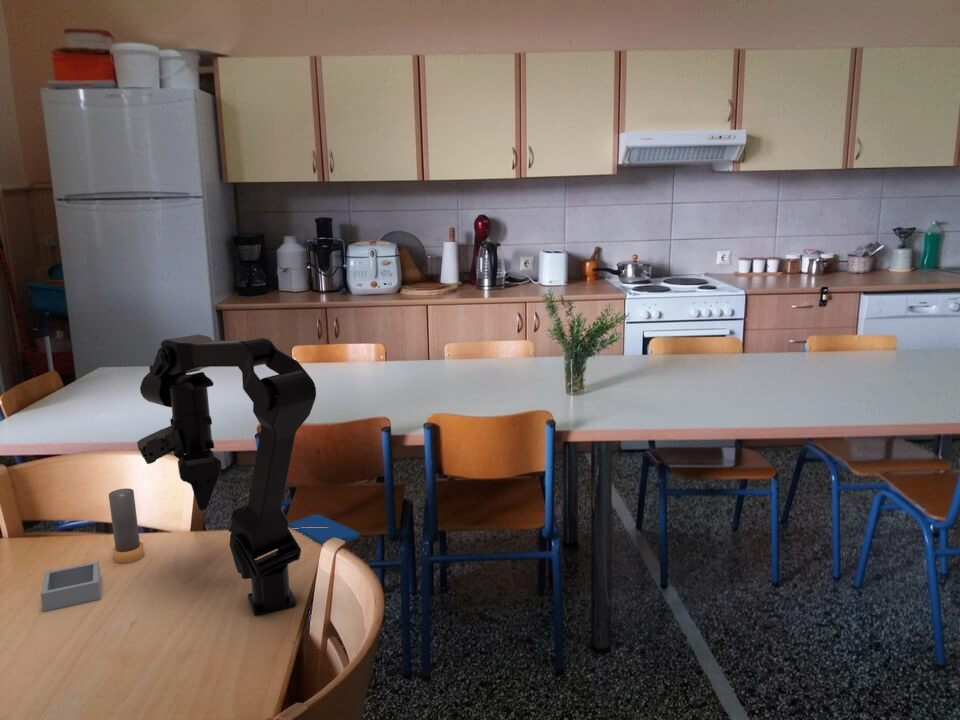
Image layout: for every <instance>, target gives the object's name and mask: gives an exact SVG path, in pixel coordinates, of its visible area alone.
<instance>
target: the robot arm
mask: <svg viewBox="0 0 960 720" xmlns="http://www.w3.org/2000/svg"><path fill="white" fill-rule="evenodd" d="M160 346H161V347H159V348H158V350H157V353H156V356H155V359H154V362H153V364H152V365H149V367H148V368H149V371H148V373H147V374H145V376H144V377H143V378H142V381H141V384H140V387H139V390H140V395H141V396H142V398H143V399H144V400H146V401H147V402H149V403H153V404H156V405H160V406H164V407H167V408H171V414H172V415H171V418H170V419H169V423H170V425H169V426H167V427H164V428H161V429H159V430H157V431H154V432H153V433H150V434H149V435H146V436H145V437H143V438H140V439H139V440H137V449H138V451H139V452H140V455H141V456H142V458H143V459H144V461H145V462H146V464H147V465H150V464H153V463H155V462H156V461H157V460H159V459H161V458H163V457H165V456H167V455H169V454H171V453H173V455H174V457H176V458H177V459H178V460H177V467H178V474H179V478H180V480H182V482H185V483H188V484H189V485H190V486H191V489H192V493H193V495H194V498H195V501H196V505H197V508H198V510H199V511H205V510H207V508H208V506H209V503H210V501H211V498H212V495H213V493H214V490H215V486H216V485H217V482H218V479H219V477H220V476H221V473H223V469H222V460H221V458H220V456H219V454H217V453H216V452H214V451H213V450H212V449H215V442H214V441H213V440H214V439H213V436H212V427H211V426H212V425H213V421H212V417H211V415H210V407H209V406H210V405H209V394H208V393H209V392H208V388H209V387H213V386H214V381H212V378H210V377H208V376H207V375H206V374H205V373H204V372H203V371H201V370H203V369H206V368H211V367H213V368H214V367H215V368H217V367H218V368H219V367H221V368H222V367H224V368H225V367H226V368H227V367H232V368H233V367H234V368H235V367H237V368H238V369H239V370H240V372H241V376H242V377H241V379H242V389H243V391H244V393H246V395H247V397H248V398H249V399H250V401H251V402H252V404H253V405H252V411H253V412H252V413H253V414H254V416H255V417H256V419H257V421H258V423H259V425H260V433H259V438H258V439H259V440H258V446H257V450H256V456H255V457H256V458H255V462H254V463H255V464H254V468H253V473H252V474H253V475H252V479H251V487H250V491H249V498H248V503H247V504H246V505H243V506H241V507H237V508H235V509H234V510H233V511H232V513H231V523H230V527H229V529H228V532H230V535H229V549H230V551H231V554H232V558H233V561H234V565H235V568H236V570H237V573H238V574H240V575H241V579H243V580H248V579H249V580H250V581H251V582H250V583H251V593H248V594H247V599H248V601H249V606H250V607H251V610H252V613H253V615H254V616H261V615H265V614H267V613H271V612H276V611H279V610H283V609H287V608H291V607H292V608H293V607H295V606H296V605H297V601H296V598H295V595H293V592H292V590H291V588H290V576H289V575H290V574H289V564H292V563H293V562H295V561H296V562H297V561H299V560H300V559H301V553H302V549H301V546H300V545H299V544H298V541H297V540H296V538H295V537H294V536H293V534H292V532H291V530H290V528H289V527H288V524H289V520H288V518H287V516H286V514H285V513H284V511H283V509H282V503H283V501H284V495H285V489H286V484H287V478H288V474H289V470H290V469H289V468H290V464H291V458H292V453H293V448H294V442H295V437H296V434H297V431H298V430H299V428H301V426H302V425H303V424H304V422H306V420H307V419H308V417H309V416H310V415H311V412H312V409H313V407H314V404H315V402H316V398H317V388H316V384H315V382H314V380H313V379H312V378H311V376H310V375H309V373H308V372H307V371H306V370H305V368H303V366H302V364H301V363H300V362H299V361H298V360H297V359H294V358H293V357H291V356H289V355H287V354H286V353H284V352H282V351H281V350H279V349H278V348H277V347H276V345H274V343H273V342H272V341H271V340H270V339H269V338H266V337H265V338H264V337H256V338H250V339H235V340H232V339H231V340H229V339H228V340H214V339H212V337H210V336H207V335H203V334H199V333H198V334H192V335H187V336H180V337H175V338H168V339H164V340H162V341H161V342H160ZM263 365H265V367H267V368H268V369H270V370H272V371H273V372H275V373H276V374H275V375H271V376H265V377H263V378H260V377H259V376H258V375H257V373H256V372H255V367H257V366H263ZM194 372H196V373H194Z"/></svg>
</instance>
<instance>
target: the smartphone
mask: <svg viewBox="0 0 960 720" xmlns="http://www.w3.org/2000/svg"><path fill="white" fill-rule="evenodd" d="M301 527H329V528H301ZM291 528H299V529H291ZM288 529H291V530H293V531H294V530H296V531H297V532H296V531H295V532H296V533H298V532H299V533H298V534H300V533H302V534H303V535H302V534H301V535H302V536H304V535H305V536H307V537H309V538H310V539H309V538H308V539H309V540H311V539H312V540H311V541H313V540H314V541H313V542H315V543H317V544H319V545H320V546H322V544H323V543H324V542H325V541H326V540H327V539H329V538H333V537H335V538H340V539H343V540H345V541H346V543H349V542H351V541H354V540H356V539H359V538H360V532H359V531H357V530H355V529H352V528H351V527H349V526H347V525H345V524H342V523H339V522H337V521H336V520H333V519H331V518H328V517H326V516H325V515H322V514H318V513H315V514H311V515H308V516H305V517H303V518H301V519H297V520H295V521H292V522H288ZM305 536H304V537H305ZM307 537H306V538H307Z"/></svg>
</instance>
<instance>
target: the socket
mask: <svg viewBox="0 0 960 720" xmlns="http://www.w3.org/2000/svg"><path fill="white" fill-rule="evenodd" d="M101 583H102V574H101V567H100V561H99V560H98V561H94V562H88V563H84V564H79V565H74V566H69V567H63V568H57V569H55V570H54V569H53V570H49V571H44V574H43V581H42V585H41V586H42V587H41V590H40V597H41V603H42V610H43V612H49V611H52V610H57V609H61V608H62V609H63V608H67V607H71V606H74V605H75V606H76V605H81V604H85V603H90V602H93V601H99V600H101V599H102V598H101V595H102V594H101V593H102V591H101V590H102V587H101V586H102V585H101Z"/></svg>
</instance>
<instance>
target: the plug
mask: <svg viewBox="0 0 960 720" xmlns="http://www.w3.org/2000/svg"><path fill="white" fill-rule="evenodd" d="M108 499H109V500H108V501H109V508H110V516H111V518H110V519H111V522H112V523H111V524H112V525H111V526H112V532H113V533H112V534H113V539H114V547H113V548H112V557H113V562H114V563H116V564H119V565H127V564H132V563H135V562H138V561H140V560H141V559H143V558H144V556H145V550H144V549H145V548H144V543H143V542H142V541H140V533H139V526H138V517H137V508H136V501H135V492H134V489H132V488H120V489H115V490H112V491H111V492H109V493H108ZM142 557H143V558H142ZM139 559H140V560H139Z"/></svg>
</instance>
